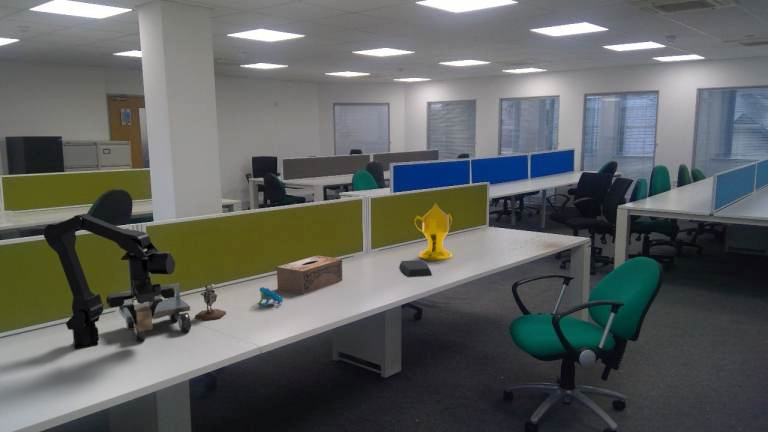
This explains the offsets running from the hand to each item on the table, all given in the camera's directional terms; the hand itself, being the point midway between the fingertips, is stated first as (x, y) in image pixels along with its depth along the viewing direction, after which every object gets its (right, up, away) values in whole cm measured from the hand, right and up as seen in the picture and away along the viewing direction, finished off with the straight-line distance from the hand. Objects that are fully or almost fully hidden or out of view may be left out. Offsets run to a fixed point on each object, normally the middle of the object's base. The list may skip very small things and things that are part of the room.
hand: (143, 322), depth 175 cm
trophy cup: (+101, +12, +124) cm, 160 cm away
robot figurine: (+12, -3, +30) cm, 32 cm away
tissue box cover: (+43, +3, +70) cm, 82 cm away
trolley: (-2, -5, +16) cm, 17 cm away
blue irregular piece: (+31, -1, +43) cm, 53 cm away
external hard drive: (+89, +6, +92) cm, 129 cm away
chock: (0, -2, 0) cm, 2 cm away
